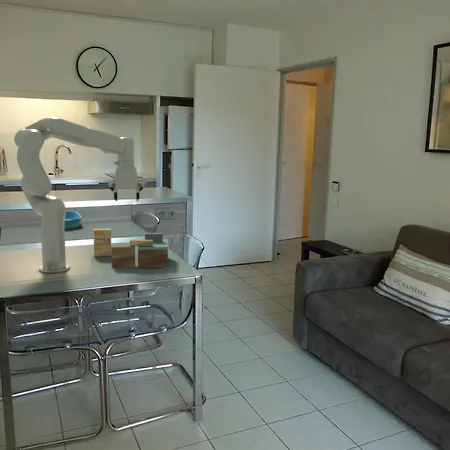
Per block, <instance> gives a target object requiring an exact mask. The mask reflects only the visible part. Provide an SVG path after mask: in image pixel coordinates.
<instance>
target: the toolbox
mask: <svg viewBox="0 0 450 450" xmlns="http://www.w3.org/2000/svg"><path fill="white" fill-rule="evenodd" d="M168 262H169V249H168V250H138V249H137V268H168V264H169V263H168ZM135 267H136V246H130V245H111V268H135Z"/></svg>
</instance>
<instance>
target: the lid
mask: <svg viewBox="0 0 450 450" xmlns="http://www.w3.org/2000/svg"><path fill="white" fill-rule="evenodd" d="M163 233H164V232H145V233H144V238H140V240H153V246H137V251H138V250H168V251H169V238H164V235H163Z"/></svg>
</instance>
